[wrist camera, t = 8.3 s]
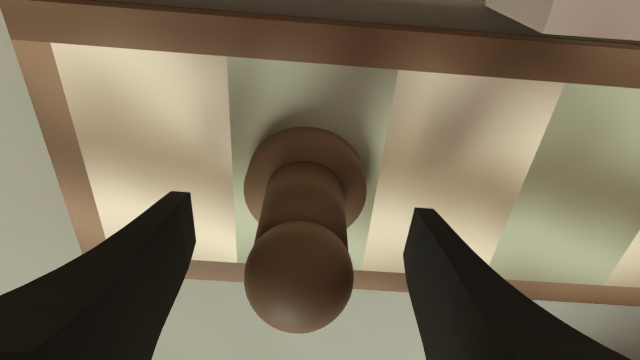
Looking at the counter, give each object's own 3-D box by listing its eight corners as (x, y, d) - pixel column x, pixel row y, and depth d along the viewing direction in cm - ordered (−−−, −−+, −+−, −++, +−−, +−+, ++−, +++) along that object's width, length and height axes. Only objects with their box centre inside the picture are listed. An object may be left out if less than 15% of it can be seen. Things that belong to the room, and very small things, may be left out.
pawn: (356, 228, 16) (372, 377, 11) (249, 221, 16) (211, 368, 11) (372, 131, 14) (401, 260, 9) (246, 122, 14) (196, 247, 8)
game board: (715, 298, 20) (729, 311, 19) (97, 260, 19) (88, 272, 18) (922, 68, 13) (953, 75, 13) (14, -6, 12) (-3, -3, 12)
